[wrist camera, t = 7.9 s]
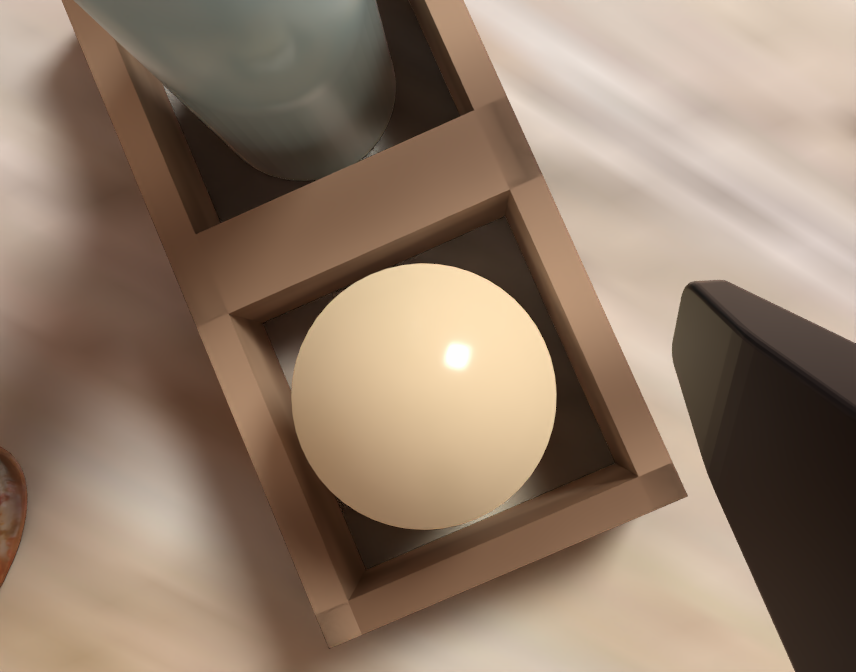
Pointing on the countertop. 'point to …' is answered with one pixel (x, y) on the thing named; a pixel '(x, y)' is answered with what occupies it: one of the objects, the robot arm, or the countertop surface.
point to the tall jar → (268, 73)
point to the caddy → (356, 259)
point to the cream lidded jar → (423, 396)
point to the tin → (10, 509)
